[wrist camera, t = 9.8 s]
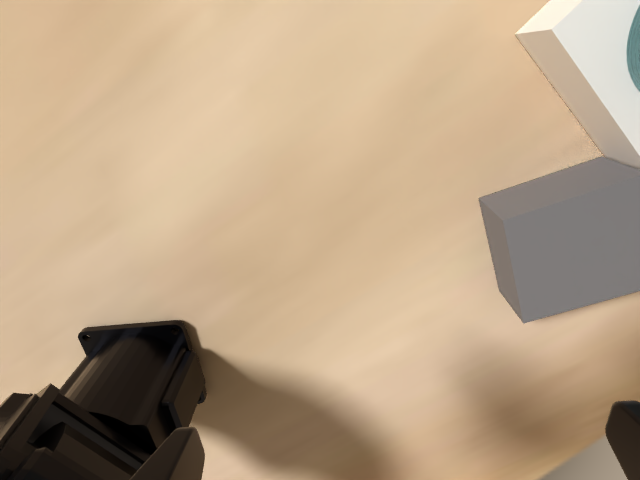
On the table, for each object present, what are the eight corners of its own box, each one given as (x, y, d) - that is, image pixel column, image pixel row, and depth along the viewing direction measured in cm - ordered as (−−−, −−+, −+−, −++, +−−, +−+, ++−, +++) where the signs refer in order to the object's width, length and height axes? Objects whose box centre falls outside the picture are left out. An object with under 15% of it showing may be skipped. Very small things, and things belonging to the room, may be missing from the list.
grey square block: (499, 290, 22) (523, 323, 19) (478, 198, 20) (502, 220, 17) (609, 258, 21) (651, 287, 18) (601, 156, 19) (648, 173, 16)
